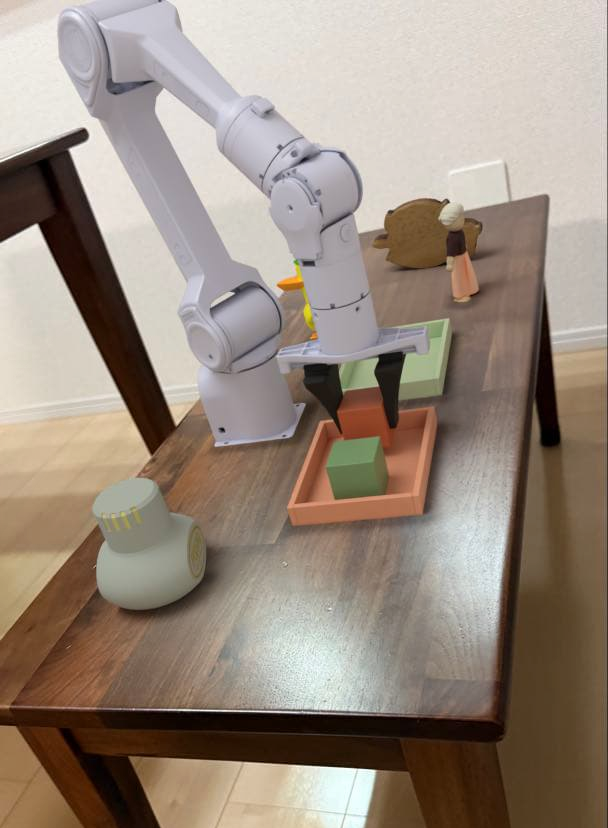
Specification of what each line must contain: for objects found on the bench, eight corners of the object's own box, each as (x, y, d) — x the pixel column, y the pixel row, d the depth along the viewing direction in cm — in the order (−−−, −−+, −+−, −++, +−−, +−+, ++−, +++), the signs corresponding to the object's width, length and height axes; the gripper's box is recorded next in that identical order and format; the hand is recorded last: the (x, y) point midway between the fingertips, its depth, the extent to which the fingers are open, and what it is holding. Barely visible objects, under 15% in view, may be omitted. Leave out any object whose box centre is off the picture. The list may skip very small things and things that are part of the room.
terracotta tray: (293, 530, 78) (286, 508, 77) (325, 441, 91) (319, 420, 89) (423, 519, 75) (418, 495, 73) (438, 428, 87) (434, 405, 86)
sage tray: (335, 413, 96) (330, 392, 94) (357, 352, 108) (353, 333, 107) (442, 399, 92) (439, 377, 90) (452, 337, 104) (449, 317, 103)
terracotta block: (346, 451, 84) (336, 412, 82) (354, 428, 88) (345, 390, 85) (390, 446, 83) (381, 406, 80) (397, 424, 86) (388, 384, 84)
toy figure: (289, 348, 115) (265, 262, 109) (297, 336, 118) (274, 252, 111) (336, 342, 113) (314, 254, 106) (342, 331, 115) (321, 244, 109)
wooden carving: (487, 250, 127) (478, 181, 121) (485, 260, 123) (476, 190, 118) (381, 268, 132) (367, 204, 127) (376, 279, 129) (362, 213, 123)
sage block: (336, 507, 79) (325, 466, 76) (344, 480, 82) (333, 441, 80) (383, 502, 77) (373, 461, 75) (389, 476, 81) (380, 435, 78)
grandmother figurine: (478, 306, 110) (465, 208, 103) (449, 311, 111) (433, 214, 104) (480, 285, 116) (467, 191, 109) (452, 290, 117) (438, 197, 110)
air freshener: (133, 558, 82) (93, 471, 76) (214, 542, 80) (179, 453, 75) (108, 633, 73) (61, 541, 67) (199, 617, 71) (158, 522, 66)
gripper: (422, 267, 78) (445, 398, 85) (276, 293, 82) (310, 415, 90) (413, 297, 72) (438, 433, 80) (257, 322, 77) (295, 449, 84)
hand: (370, 426), depth 84 cm, fingers closed on terracotta block, 4 cm apart
